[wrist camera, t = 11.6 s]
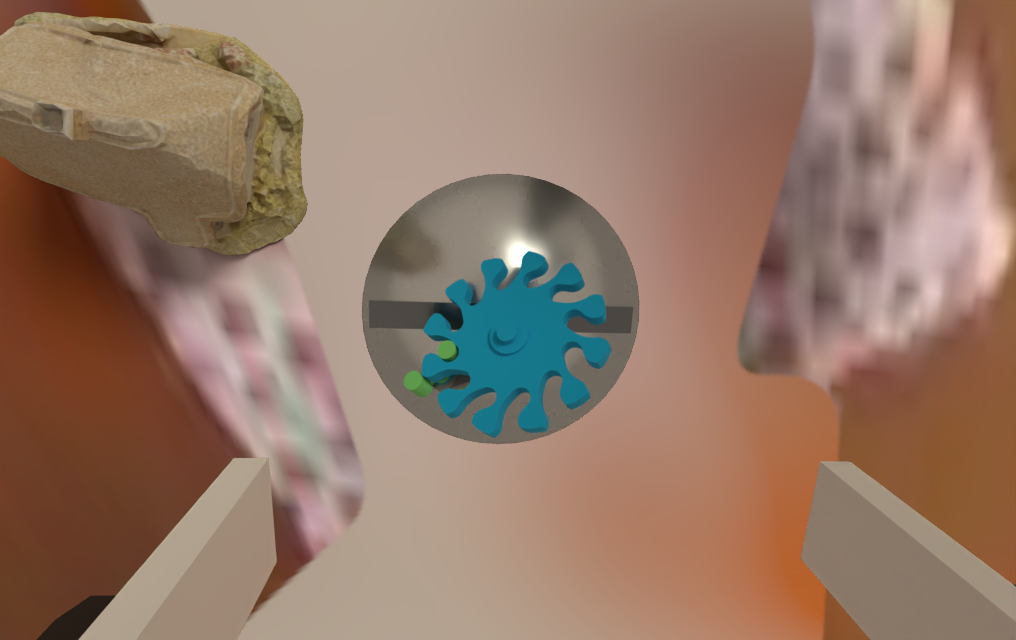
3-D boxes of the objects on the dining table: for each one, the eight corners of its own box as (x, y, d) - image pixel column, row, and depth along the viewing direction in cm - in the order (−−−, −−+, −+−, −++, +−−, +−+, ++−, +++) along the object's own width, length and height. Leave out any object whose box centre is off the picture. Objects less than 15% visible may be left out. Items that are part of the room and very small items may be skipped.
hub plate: (362, 168, 30) (357, 167, 29) (646, 180, 31) (653, 180, 30) (369, 434, 34) (365, 443, 33) (620, 435, 35) (626, 444, 34)
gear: (574, 218, 29) (637, 391, 24) (593, 274, 34) (649, 426, 29) (386, 290, 31) (409, 465, 26) (431, 333, 36) (457, 485, 31)
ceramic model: (336, 70, 29) (268, 15, 19) (296, 271, 32) (218, 312, 22) (53, -18, 27) (-178, -126, 18) (35, 203, 30) (-176, 215, 20)
